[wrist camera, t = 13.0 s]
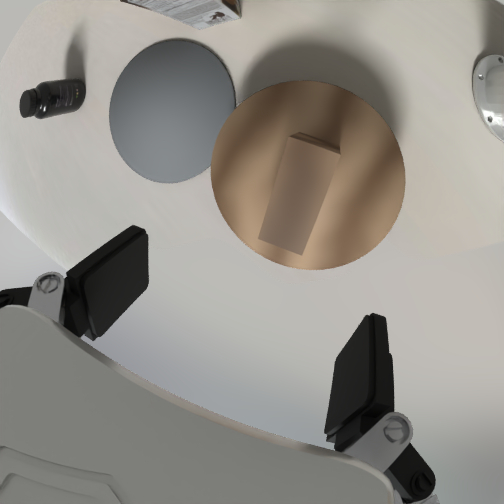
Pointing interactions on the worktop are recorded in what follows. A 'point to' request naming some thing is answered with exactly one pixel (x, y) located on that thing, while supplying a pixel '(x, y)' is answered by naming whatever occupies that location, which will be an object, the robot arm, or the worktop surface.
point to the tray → (170, 110)
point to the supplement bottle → (52, 98)
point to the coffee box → (193, 10)
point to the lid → (308, 175)
